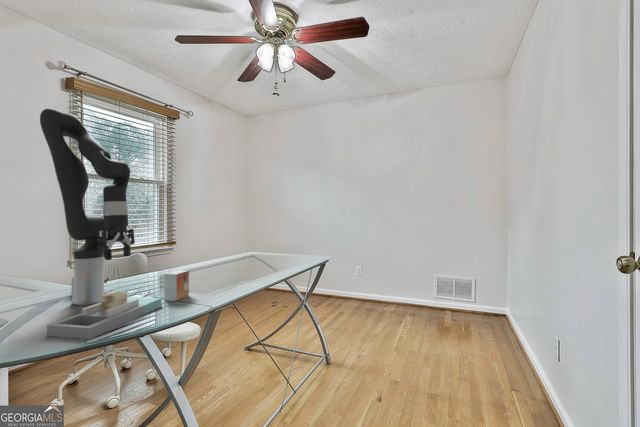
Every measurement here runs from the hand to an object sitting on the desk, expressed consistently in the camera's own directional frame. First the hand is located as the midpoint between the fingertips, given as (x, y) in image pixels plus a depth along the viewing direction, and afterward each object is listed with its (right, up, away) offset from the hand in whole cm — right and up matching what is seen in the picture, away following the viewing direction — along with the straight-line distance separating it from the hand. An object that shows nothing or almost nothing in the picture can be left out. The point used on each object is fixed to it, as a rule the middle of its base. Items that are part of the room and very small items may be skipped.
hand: (117, 258), depth 113 cm
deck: (+7, -18, -14) cm, 24 cm away
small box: (+17, -18, +10) cm, 27 cm away
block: (+8, -15, -13) cm, 21 cm away
